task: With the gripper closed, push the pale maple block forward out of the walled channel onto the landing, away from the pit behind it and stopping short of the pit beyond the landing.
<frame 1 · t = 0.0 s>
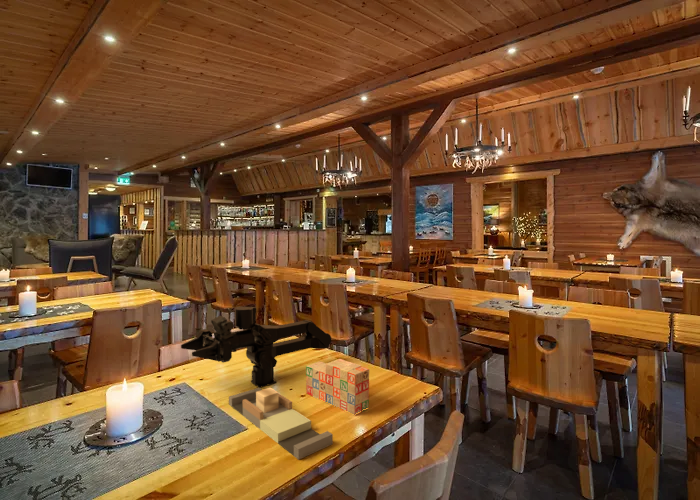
hand: (186, 350, 118), 17 cm above the table, tool horizontal, fingers open, 9 cm apart
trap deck: (275, 422, 108), on the table
maple block: (267, 407, 111), point 2 cm above the table, touching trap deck
stack of blocks: (336, 402, 122), on the table
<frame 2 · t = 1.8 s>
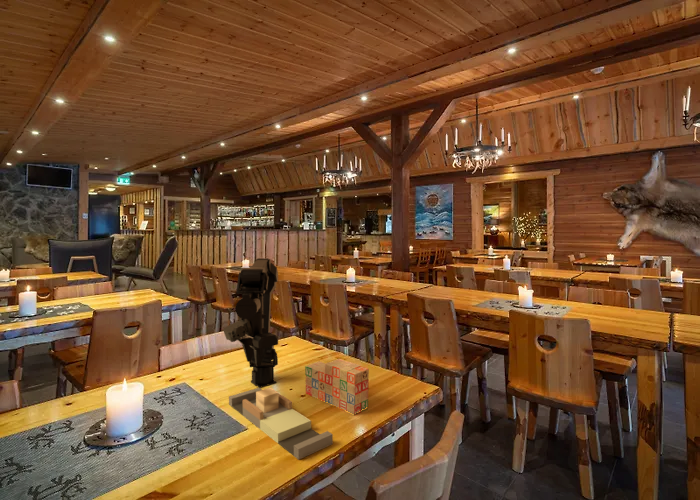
hand: (253, 363, 117), 13 cm above the table, tool pointing down, fingers open, 5 cm apart
nothing on the table moved.
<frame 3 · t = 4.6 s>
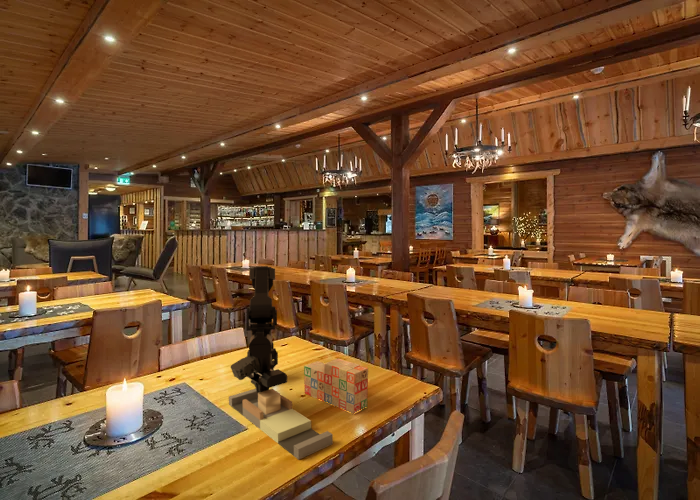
hand: (261, 400, 114), 4 cm above the table, tool pointing down, fingers closed
maple block: (269, 409, 111), point 3 cm above the table, touching gripper
everything else where it was.
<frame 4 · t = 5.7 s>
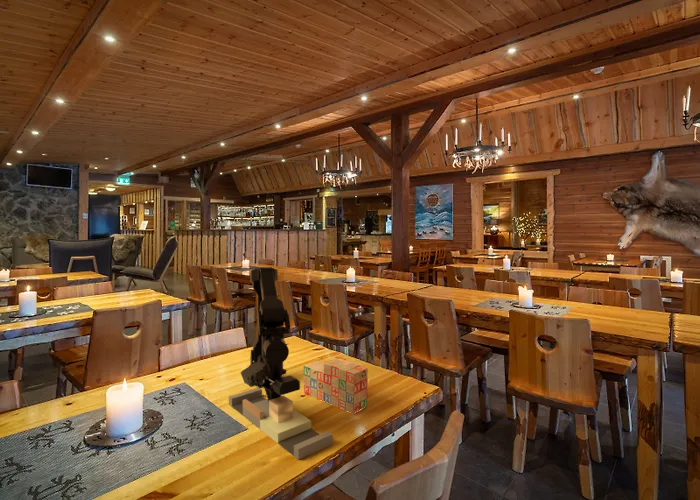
hand: (272, 407, 109), 4 cm above the table, tool pointing down, fingers closed
maple block: (281, 417, 106), point 3 cm above the table, touching gripper, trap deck
everything else where it was.
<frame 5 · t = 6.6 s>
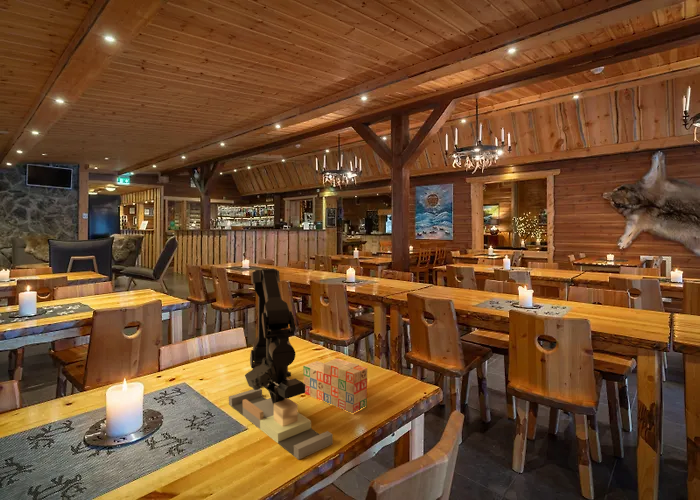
hand: (277, 410, 107), 4 cm above the table, tool pointing down, fingers closed
maple block: (285, 420, 104), point 2 cm above the table, touching gripper, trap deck
everything else where it was.
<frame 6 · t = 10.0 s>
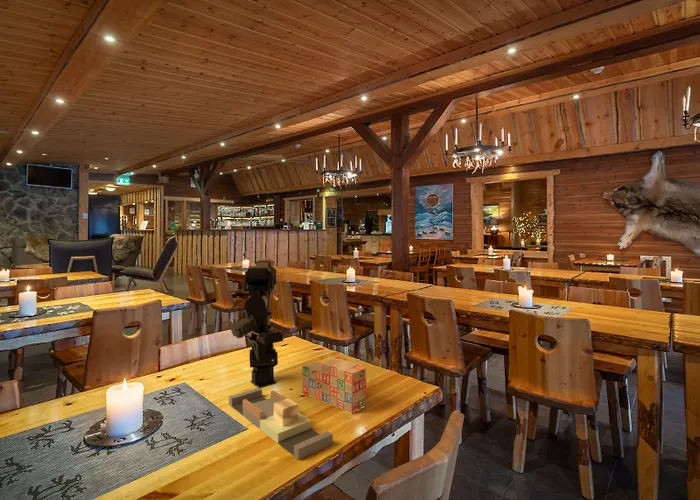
hand: (259, 359, 120), 13 cm above the table, tool pointing down, fingers closed
maple block: (285, 420, 104), point 2 cm above the table, touching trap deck
at the end: maple block 0.1 cm from the target spot on the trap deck, point 2.5 cm above the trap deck's base; maple block tilted 0°; the gripper is holding nothing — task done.
